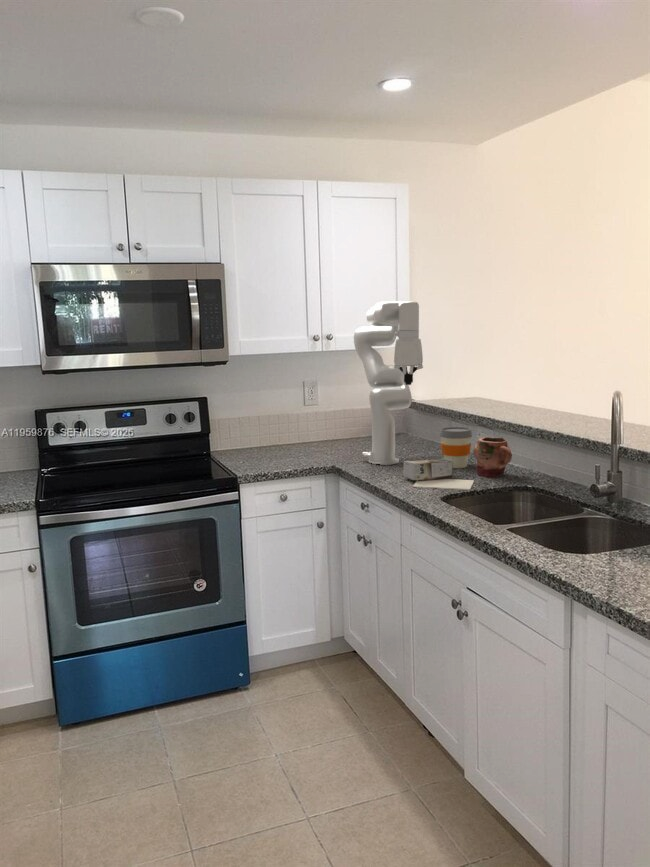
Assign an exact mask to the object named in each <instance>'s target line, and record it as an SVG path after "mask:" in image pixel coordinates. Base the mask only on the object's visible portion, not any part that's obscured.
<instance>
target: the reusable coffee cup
mask: <svg viewBox="0 0 650 867" xmlns="http://www.w3.org/2000/svg"><path fill="white" fill-rule="evenodd" d="M439 437H440V438H441V442H440V447H441V449H440V450H441V454H442V456H443V460H446V461H451V462H453V469H463V468H466V467H468V462H469V455H470V454H471V448H472V443H471V438H472V437H473V432H472V429H471V428H469V427H463V426H462V427H461V426H449V427H443V428H441V429H440V433H439Z"/></svg>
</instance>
